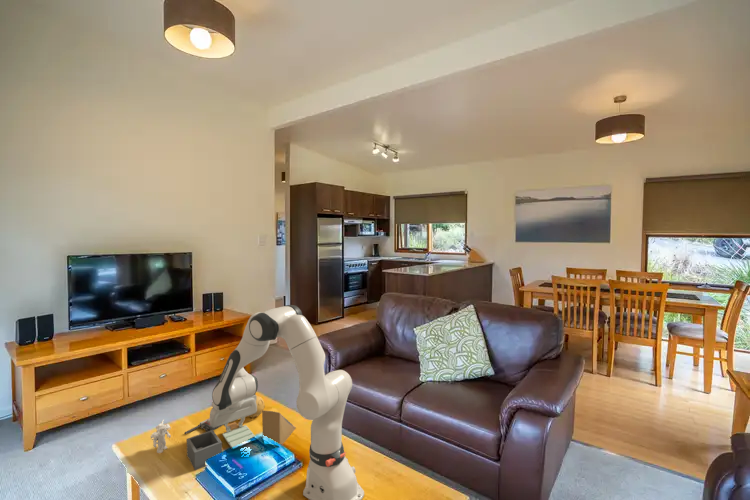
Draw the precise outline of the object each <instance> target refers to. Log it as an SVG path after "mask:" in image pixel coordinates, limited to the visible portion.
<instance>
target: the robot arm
mask: <svg viewBox="0 0 750 500" xmlns="http://www.w3.org/2000/svg"><path fill="white" fill-rule="evenodd" d="M277 338H281V339H283V340H284V341H285V343H286V345H287V348H288V350H289V353H290V354H291V357H292V360H293V363H294V365H295V367H296V370H297V375H298V381H299V386H298V387H299V389H298V393H297V397H296V408H297V412H298V413H299V414H300V415H301V417H303V418H304V419H306V420H307V421H308V420H310V421H311V424H310V445H309V459H310V460H309V463H308V466H307V470H306V479H305V480H306V481H305V487H304V489H303V492H302V495H303V496H304V497H305V498H307V499H308V500H363V498H364V497H365V491H364V489H363V488H362V486H361V485H360V484H359V483H358V480H357V476H356V474H355V473H356V468H355V466H354V465H353V466H351V465H350V463H349V460H348V458H347V457H346V454H347V452H346V451H345V449H344V448H345V447H344V444H343V442H342V441H343V440H342V439H343V438H342V435H343V434H342V431H343V430H342V428H343V427H342V426H343V419H344V414H345V410H346V407H347V406H346V404H347V401H348V397H349V394H350V392H351V390H352V389H353V379H352V377H351V375H350V374H349V373H348V372H347V371H345V370H343V369H337V370H333V371H329V372H328V373H325V367H324V365H325V361H326V352H325V351H324V348H323V346H322V345H321V342H320V340H319V338H318V336H317V334H316V332H315V329H313V327H312V325H311V323H310V322H309V321H308V319H307V318H306V317H305V316H304V315H303V312H302V310H301V309H300V307H298V305H293V304H288V305H284V306H279V307H274V308H271V309H270V308H269V309H267V310H264V311H258V312H254V313H253V314H251V316H250V317H249V318H248V320H247V323H246V325H245V327H244V330H243V333H242V337H241V339H240V342H239V344H238V345H237V346H236V348H235V349H234V350H233V351H231V353H230V355H229V356H228V358H227V361H226V363H225V365H224V367H223V370H222V372H221V374H220V377H219V379H218V381H217V382H216V384H215V386H214V388H213V389H212V393H211V397H212V399H211V400H212V402H211V406H212V408H211V409H210V412H209V418H210V419H209V418H208V419H209V423H210V425H211V426H212V427H213V428H215V427H217V426H220V425H223V424H224V425H223V426H224V427H225V431H226V432H229V431H231V430H230V429H231V428H230V426H227V425H229V424H230V423H233V422H235V421H237V420H239V422H238V423H237V424H238V426H239V428H240V427H243V426H244V425H243V423H244V422H245V420H246V417H249V415H252V414H255V413H256V411H257V405H256V396H257V394H256V393H257V392H258V388H259V382H258V379H257V377H256V376H255V375H253V374H251V373H248V371H246V369H245V368H244V367H246V366H247V365H249V364H250V363H252V362H254V361H256V360H258V359H260V358H261V357H263V356H264V355H265V354H266V352H267V351H268V349H269V347H270V344H271V341H274V340H277Z"/></svg>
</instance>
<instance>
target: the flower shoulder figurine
mask: <svg viewBox="0 0 750 500" xmlns="http://www.w3.org/2000/svg"><path fill="white" fill-rule="evenodd" d="M164 421H165V418H163V419H162V421H160V423H159V424H157V426H156V427H155V429H156V431H153V432H152V434H150V439H151V440H152V441H153V444H152V447H153V448H157V449H156V453H157V454H161V453H164V450H166V449H168V446H167V445H166V444H167V443H166V438H165V437H167V438H172V437H171V434H170V432H169V431H170V430H171V426H170V423H166V424H164Z"/></svg>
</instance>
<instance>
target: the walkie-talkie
mask: <svg viewBox="0 0 750 500" xmlns="http://www.w3.org/2000/svg"><path fill="white" fill-rule="evenodd" d="M209 419H210V417H209V418H207V419H204V420H203V421H201V422H199V424H198V425H197V426H194V427H192V428H191V429H188V430H187V431H184V435H187V434H190V433H191V432H193V431H195V430H197V429H200V428H201V430H204V431H205V432H208V431H211V430H213V431H215V430H217V429H219V428H221V427H222V426H224V424H223V425H220V426H217V427H215V428H213V427H212V426H211V425H210V423H209Z"/></svg>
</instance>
